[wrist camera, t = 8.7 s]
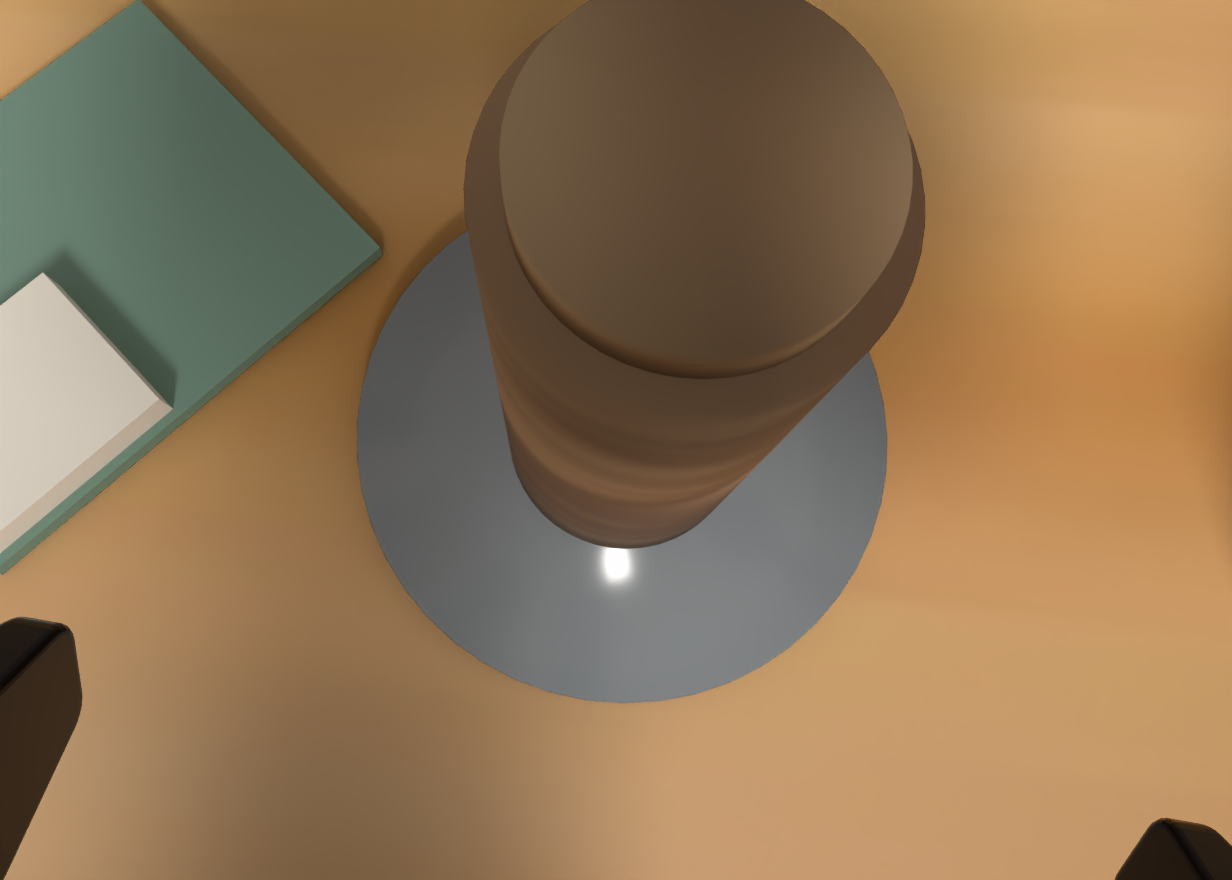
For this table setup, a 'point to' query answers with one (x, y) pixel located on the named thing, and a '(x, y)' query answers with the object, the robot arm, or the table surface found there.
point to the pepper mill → (682, 248)
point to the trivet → (581, 571)
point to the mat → (139, 262)
